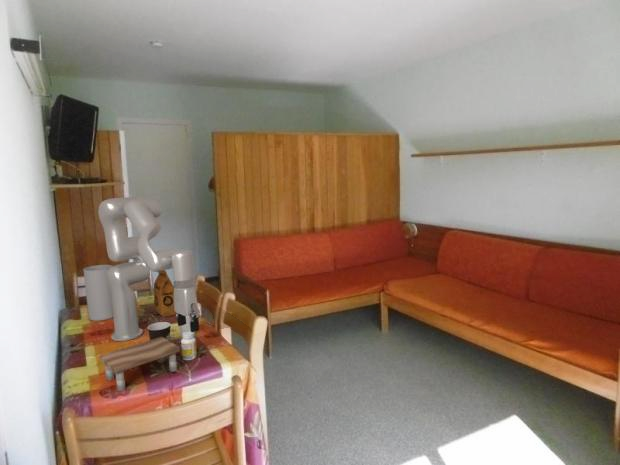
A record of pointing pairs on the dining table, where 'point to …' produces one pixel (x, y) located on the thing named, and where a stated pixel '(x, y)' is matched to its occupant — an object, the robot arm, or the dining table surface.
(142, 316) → the dining table surface
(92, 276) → the cylinder vase
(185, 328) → the dixie cup
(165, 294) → the coffee package
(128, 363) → the small wooden riser
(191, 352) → the supplement bottle
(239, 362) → the dining table surface
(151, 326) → the coffee mug
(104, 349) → the dining table surface
